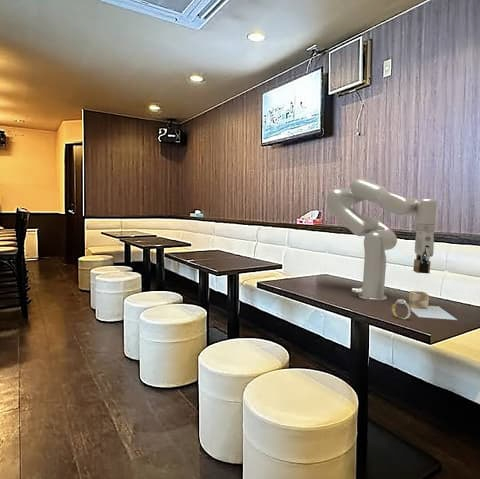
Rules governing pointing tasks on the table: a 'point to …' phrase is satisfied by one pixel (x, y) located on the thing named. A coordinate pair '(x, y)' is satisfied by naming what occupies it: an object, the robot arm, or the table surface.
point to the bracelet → (401, 303)
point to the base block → (418, 300)
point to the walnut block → (417, 266)
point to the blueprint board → (433, 313)
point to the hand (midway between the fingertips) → (421, 271)
